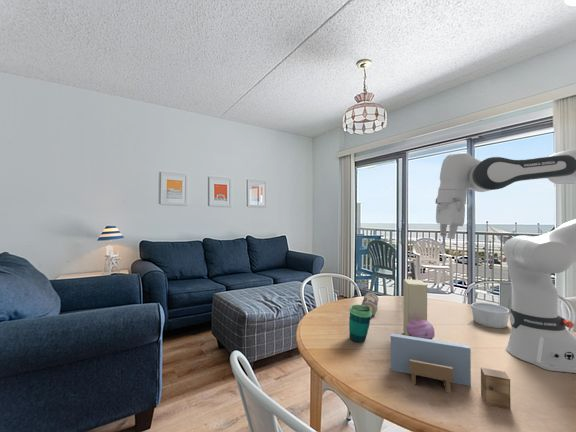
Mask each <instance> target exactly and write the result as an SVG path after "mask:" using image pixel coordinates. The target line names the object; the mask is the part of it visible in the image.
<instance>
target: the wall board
mask: <svg viewBox="0 0 576 432" xmlns="http://www.w3.org/2000/svg"><path fill="white" fill-rule="evenodd" d="M471 354H472V353H471V347H470V345H469V344H462V343H456V342H449V341H443V340H437V339H432V340H431V339H425V338H418V337H412V336H405V334H396V333H390V370H391V371H394V372H400V373H404V374H409V375H410V377H411V384H412V385H414V386H415V385H416V384H417V376H419V377H422V378H428V379H433V380H438V381H442V382H443V385H444V389H445V392H448V393H451V383H453V384H458V385H462V386H463V385H464V386H469V387H471V386H472V381H471V380H472V374H471V372H472V371H471V370H472V369H471V368H472V367H471V365H472V362H471V360H472V359H471Z"/></svg>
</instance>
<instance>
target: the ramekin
mask: <svg viewBox="0 0 576 432" xmlns="http://www.w3.org/2000/svg"><path fill="white" fill-rule="evenodd" d="M470 308H471V311H472V312H471V313H472V318H473V320H474V321H475V323H476V324H479V325H481V326H483V327H488V328H492V329H493V328H495V329H503V328H505V327H506V326H508V321H509V317H510V309H508V308H507V307H505V306H502V305H499V304H495V303H489V302H487V303H486V302H473V303H471V305H470Z"/></svg>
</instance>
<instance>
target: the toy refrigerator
mask: <svg viewBox="0 0 576 432" xmlns="http://www.w3.org/2000/svg"><path fill="white" fill-rule="evenodd" d="M402 296H403V299H402V300H403V301H402V302H403V303H402V304H403V307H402V308H403V309H402V310H403V315H402V316H403V320H402V323H403V325H402V326H403V329H402V331H403V332H402V333H403V335H405V336H409V333H408V332H407V329H406V325H407V323H408V322H409V321H410V320H411V319H421V320H426V321H428V284H427V283H426V282H424V281H423V280H421V279H409V278H406V279H403V295H402Z"/></svg>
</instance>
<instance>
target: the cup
mask: <svg viewBox="0 0 576 432" xmlns="http://www.w3.org/2000/svg"><path fill="white" fill-rule="evenodd" d="M348 311H349V321H348V325H349V327H348V329H349V330H348V331H349V334H348V335H349V339H350V341H352V342H354V343H361V344H362V343H364V342H366V339H367V336H368V332H369V328H370V324H371V318H372V316H373V315H372V313H371V312H370V308H369V307H368V306H365V305H362V304H354V305H351V307H350V308H349V309H348Z"/></svg>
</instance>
